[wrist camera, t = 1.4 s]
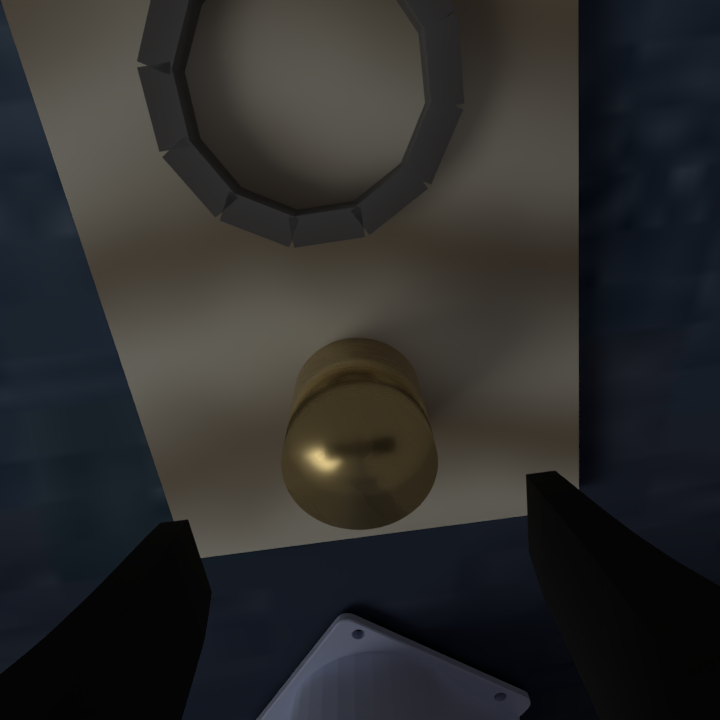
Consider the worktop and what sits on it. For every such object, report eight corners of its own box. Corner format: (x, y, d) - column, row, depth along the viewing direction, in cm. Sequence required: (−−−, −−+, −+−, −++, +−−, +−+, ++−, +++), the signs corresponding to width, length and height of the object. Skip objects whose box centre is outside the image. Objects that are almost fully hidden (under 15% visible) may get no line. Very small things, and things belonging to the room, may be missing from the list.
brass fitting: (413, 328, 18) (429, 385, 14) (426, 441, 19) (444, 519, 16) (283, 347, 18) (266, 408, 14) (306, 458, 20) (297, 538, 16)
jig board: (569, 491, 21) (591, 531, 19) (193, 541, 22) (178, 584, 20) (562, -216, 14) (600, -273, 12) (-17, -113, 14) (-77, -150, 12)
